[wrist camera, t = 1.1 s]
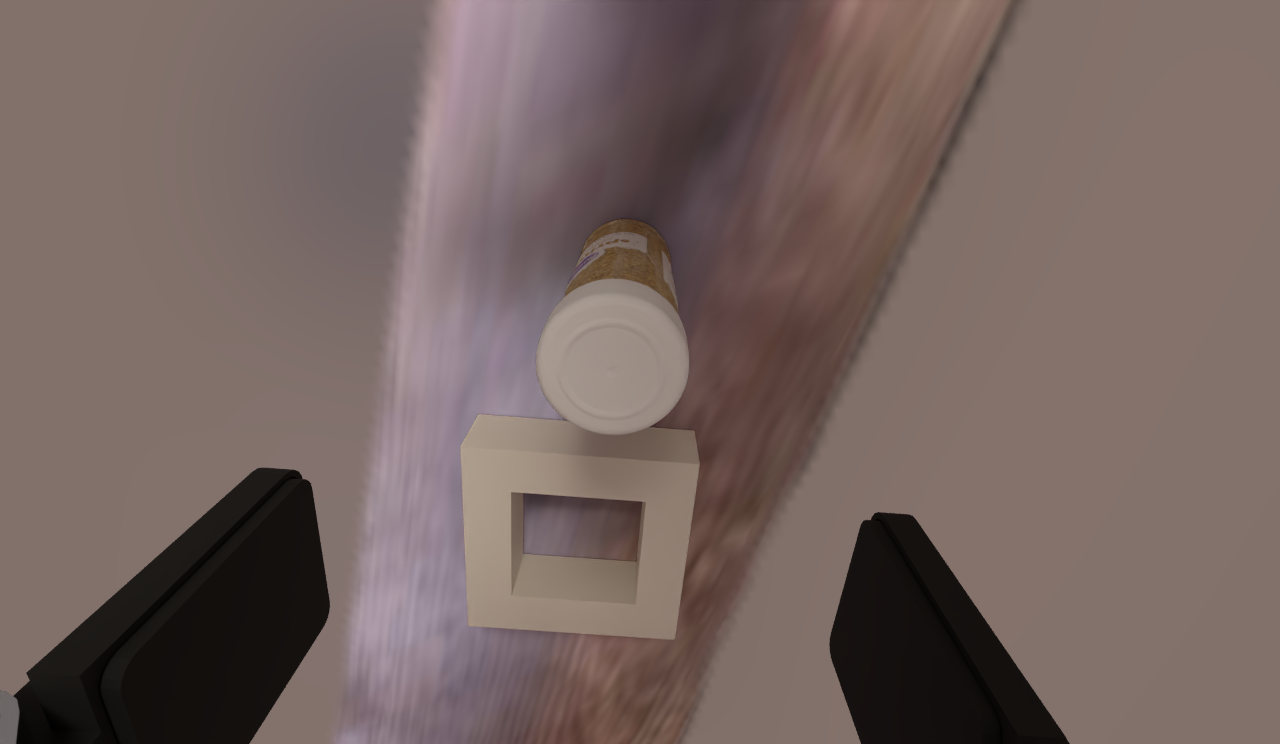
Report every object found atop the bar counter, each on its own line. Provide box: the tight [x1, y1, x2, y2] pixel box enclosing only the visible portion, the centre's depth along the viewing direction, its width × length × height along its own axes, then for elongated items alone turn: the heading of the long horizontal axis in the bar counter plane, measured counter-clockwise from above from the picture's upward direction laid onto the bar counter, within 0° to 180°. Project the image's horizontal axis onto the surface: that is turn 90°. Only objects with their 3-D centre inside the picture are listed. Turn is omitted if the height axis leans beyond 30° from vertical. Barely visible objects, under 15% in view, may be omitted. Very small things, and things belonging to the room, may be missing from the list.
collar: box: [461, 414, 700, 640], centre depth 34 cm, size 12×12×4 cm
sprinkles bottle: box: [536, 219, 689, 435], centre depth 23 cm, size 5×5×14 cm
